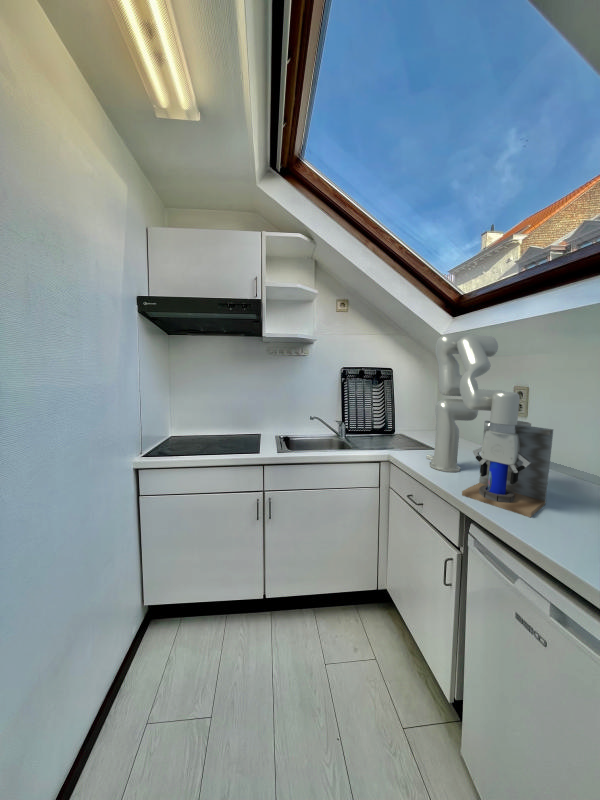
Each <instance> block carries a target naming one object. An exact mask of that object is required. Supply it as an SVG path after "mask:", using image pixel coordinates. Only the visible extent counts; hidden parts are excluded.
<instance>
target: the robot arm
mask: <svg viewBox="0 0 600 800" xmlns="http://www.w3.org/2000/svg"><path fill="white" fill-rule="evenodd" d="M498 350H499V343H498V341H497V339H496V338H495V337H493V336H492V335H479V334H478V335H477V334H459V333H457V334H456V333H452V334H451V333H450V334H449V333H448V334H443V335H442V336H440V337H438V339H437V340H436V343H435V349H434V351H435V357H436V360H437V366H438V389H439V393H440V394H441V395H442V396H448V397H461V398H460V399H458V398H443V399H440V400H438V401H437V402H436V404H435V409H434V410H435V411H434V412H435V420H436V421H435V423H436V426H435V442H434V450H433V451H434V452H433V455H431V454H426V457H425V459H426V460H429V461H431V462H429V466H430V468H432V469H434V470H437V471H441V472H446V473H447V472H449V473H456V472H460V471H461V466H459V464H458V455H459V454H458V453H459V452H458V451H459V443H460V441H459V440H460V428H459V426H458V425H457V423H456V421H466V422H467V421H474V420H475V419H476V418H477V417H478V415H479V411H489V412H490V415H489V416H490V418H489V421H490V422H489V423H485V422H484V423H485V427H488V428H489V430H488V431H486V433H485V436H484V440H483V439H482V446H481V447H478V448H476V449H474V450H472V453H473V455H474V456H475V459H476V460H477V462H478V463H479V468H480V469H479V474H480V473H481V476H482V477H483V476H486V475H487V466H488V465H487V464H486V462H487V461H492V462H497V463H500V464H505V465H510V467H511V468H512V470H513V472H511V479H510V484H512V485H513V484H515V483H516V482H517V481H518V473H519V471H521V470H523V469H525V468H526V467H527V466H528V465H529V464H531V462H530V461H529V460H528V459H526V458H525V457H524V456H523V455H521V454H520V445H519V436H518V434H516V430H517V421H519V420H518V416H519V408H520V397H521V396H520V394H519V393H517V392H514V391H505V390H502V389H501V390H500V389H487V388H486V389H484V388H483V389H480V388H479V384H478V381H477V380H476V378H478V377H481V376H483V375H485V374H486V373H488V372H489V371H490V369H491V362H490V360H489V358H491V357H494V356H495V355H496V354H497V352H498ZM454 355H459V357H460V359H461V363H462V364H463V368H464V370H465V372H463V375H462V374H460V363H459V361H458V360H457V358H456V357H455V356H454ZM480 453H481V454H480ZM519 459H520V460H521V461H522V462H523V464H522V465H521V466H520V467H519V466H518V465H517V463H518V462H519Z"/></svg>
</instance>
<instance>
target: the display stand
mask: <svg viewBox="0 0 600 800" xmlns="http://www.w3.org/2000/svg"><path fill="white" fill-rule="evenodd" d="M489 422H490V420H484V425H483V435H482V436H483V437H482V441H483V440H484V436H485V433H486V431H488V430H489V428H488V427H485V423H489ZM516 434H518V436H519V445H520V454H521V455H523V456H524V457H525V458H526V459H528V460H529V461H530V462H531V464H529V465H528V466H527V467H526V468H525V469H523V470H521V471H519V473H518V481H517V482H516V483H515V484H513V485H512V484H510V479H511V472H513V470H512V468H511V467H510V465H508V473H507V483H506V492H505V495H501V494H495V493H492V492H489V491H487V489H488V478H489V468H490V461H487V462H486V464H487V465H488V466H487V475H486V476H483V477H482V476H481V473H480V472H479V481H478V482H477V483H476V484H474V485H472V486H470V487H467V488H466V489H464V490H462V491H461V495H462V496H464V497H466V498H470V499H473V500H476V501H479V502H482V503H486V504H488V505H491V506H494V507H497V508H500V509H503V510H507V511H510V512H513V513H516V514H519V515H521V516H525V517H528V518H532V517H533V516H534V515H535V514H536V513H537V512H538V511H540V509H542V508H543V507H544V506H545V505H546V500H547V491H548V482H549V473H550V463H551V457H552V456H551V455H552V445H553V437H554V429H552V428H546V427H537V426H532V425H531V426H524V425H517V430H516ZM522 464H523V462H522V461H521V460H520V459H519V462H518V463H517V465H518V466H519V467H520V466H521V465H522Z"/></svg>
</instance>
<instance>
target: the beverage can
mask: <svg viewBox="0 0 600 800" xmlns="http://www.w3.org/2000/svg"><path fill="white" fill-rule="evenodd" d="M507 473H508V465H505V464H500V463H497V462H492V461H490V468H489V478H488V489H487V491H489V492H492V493H495V494H501V495H505V492H506V483H507Z"/></svg>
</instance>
